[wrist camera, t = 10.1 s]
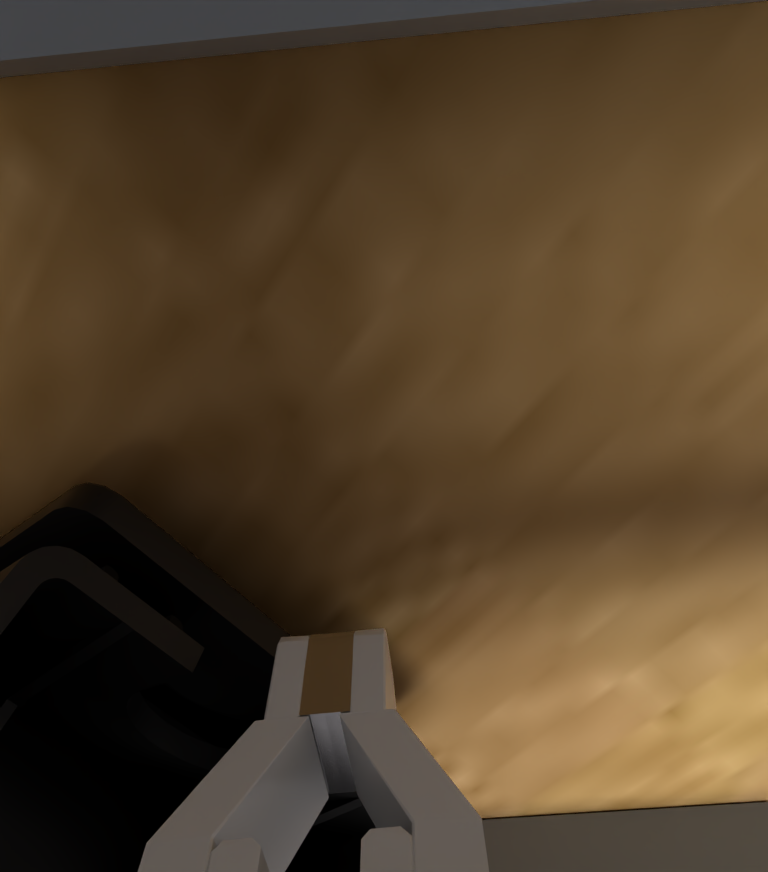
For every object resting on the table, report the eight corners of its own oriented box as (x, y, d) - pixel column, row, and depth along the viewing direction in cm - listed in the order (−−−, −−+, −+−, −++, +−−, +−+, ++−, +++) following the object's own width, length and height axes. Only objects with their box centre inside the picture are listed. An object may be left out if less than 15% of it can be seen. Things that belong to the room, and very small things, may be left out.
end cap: (-94, 577, 14) (-482, 971, 9) (71, 447, 10) (-441, 1009, 5) (241, 799, 18) (107, 1166, 13) (453, 766, 14) (385, 1271, 9)
